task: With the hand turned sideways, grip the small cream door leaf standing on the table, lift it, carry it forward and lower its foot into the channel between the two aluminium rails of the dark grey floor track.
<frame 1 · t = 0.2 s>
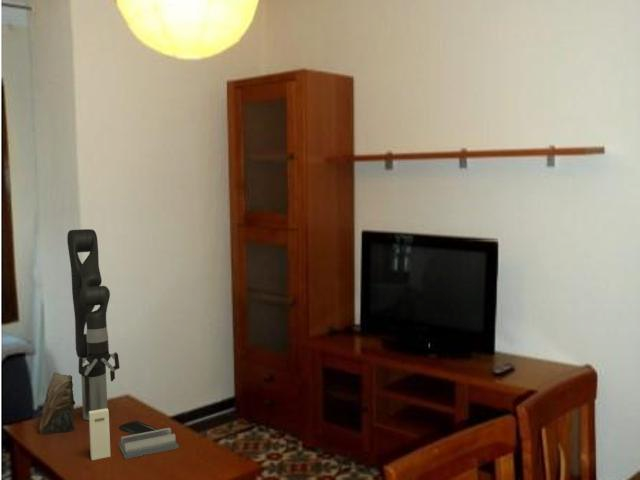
hand: (100, 382, 232), 18 cm above the table, tool pointing down, fingers open, 8 cm apart
door leaf: (100, 456, 210), on the table
floor track: (148, 447, 217), on the table
owl: (55, 429, 234), on the table
phone: (138, 431, 232), on the table
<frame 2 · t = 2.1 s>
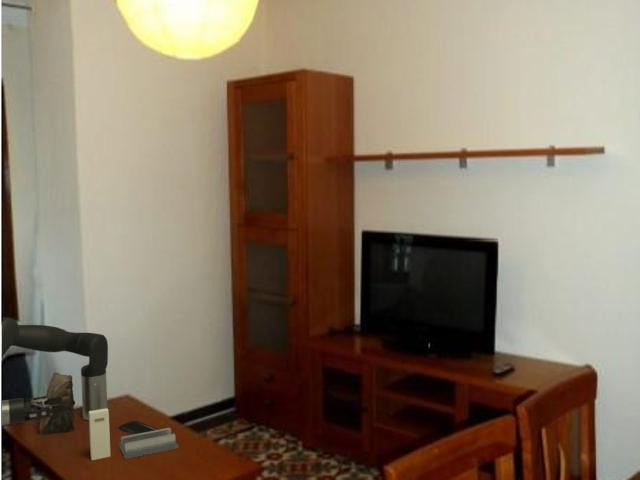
hand: (63, 403, 203), 20 cm above the table, tool horizontal, fingers open, 8 cm apart
nothing on the table moved.
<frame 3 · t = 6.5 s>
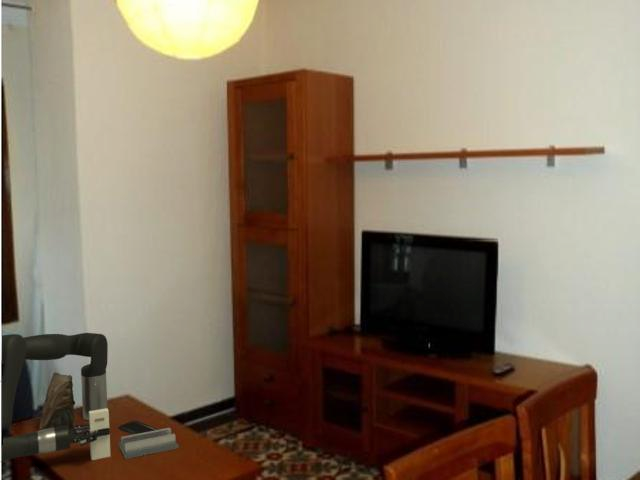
hand: (108, 429, 210), 9 cm above the table, tool horizontal, fingers closed on door leaf, 2 cm apart
door leaf: (100, 456, 210), on the table, touching gripper
everything else where it was.
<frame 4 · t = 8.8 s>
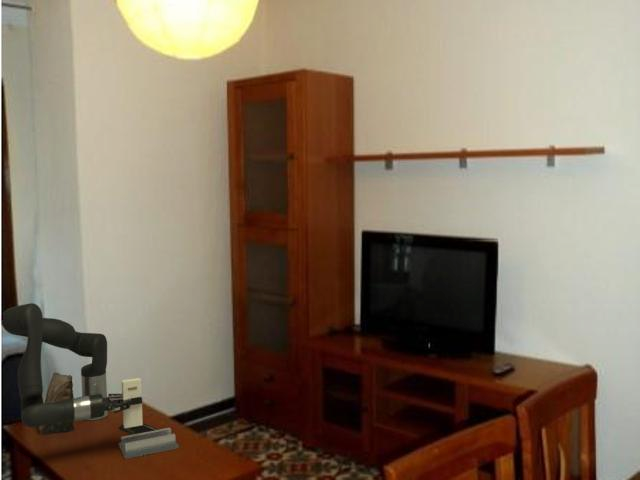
hand: (140, 398, 215), 18 cm above the table, tool horizontal, fingers closed on door leaf, 2 cm apart
door leaf: (133, 425, 214), point 9 cm above the table, touching gripper
everything else where it was.
when the fingers open (11 cm above the table, at t = 11.0 s): door leaf drops 1 cm, resting on floor track.
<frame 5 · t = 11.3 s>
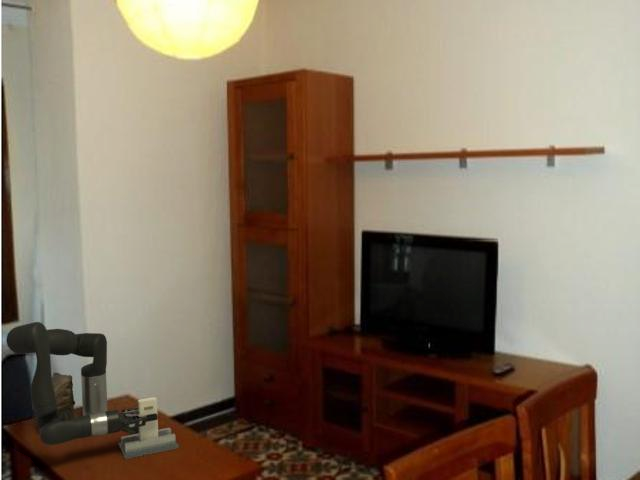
hand: (155, 413, 217), 11 cm above the table, tool horizontal, fingers open, 5 cm apart
door leaf: (148, 444, 217), point 1 cm above the table, touching floor track
everything else where it was.
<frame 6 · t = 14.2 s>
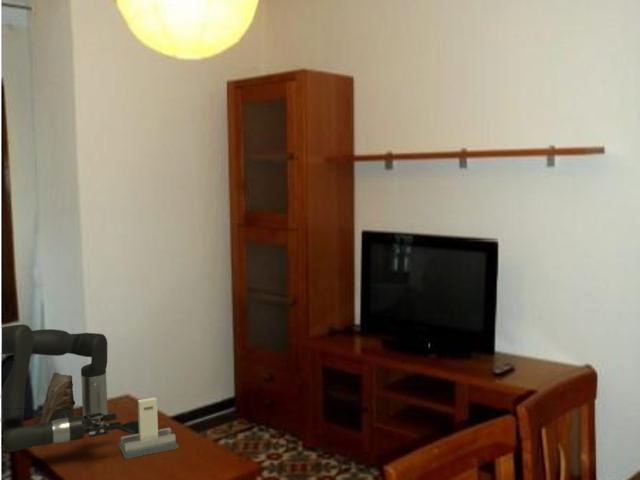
hand: (118, 420, 212), 12 cm above the table, tool horizontal, fingers open, 8 cm apart
nothing on the table moved.
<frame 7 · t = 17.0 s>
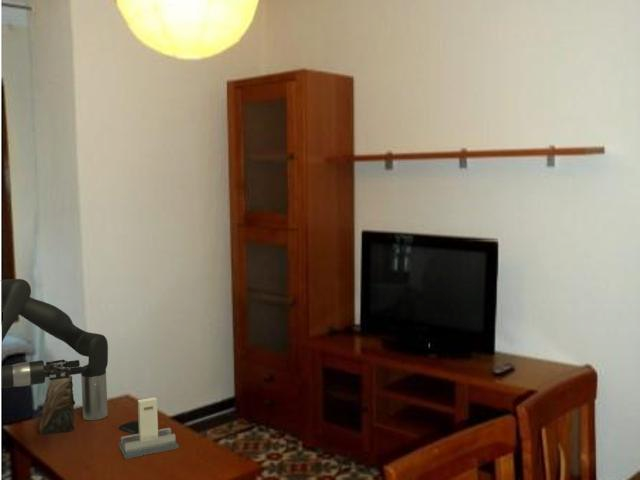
hand: (81, 366, 211), 30 cm above the table, tool horizontal, fingers open, 8 cm apart
nothing on the table moved.
at the end: door leaf inside the target area on the floor track (0.1 cm from its centre), point 1.0 cm above the floor track's base; door leaf tilted 0°; the gripper is holding nothing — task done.
